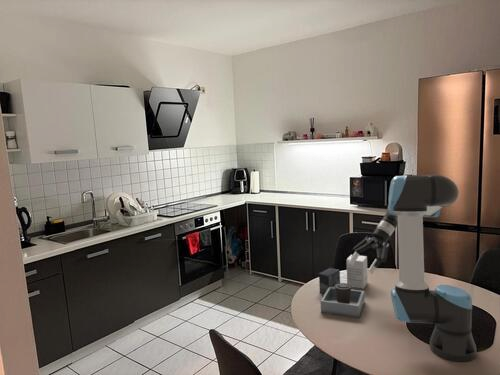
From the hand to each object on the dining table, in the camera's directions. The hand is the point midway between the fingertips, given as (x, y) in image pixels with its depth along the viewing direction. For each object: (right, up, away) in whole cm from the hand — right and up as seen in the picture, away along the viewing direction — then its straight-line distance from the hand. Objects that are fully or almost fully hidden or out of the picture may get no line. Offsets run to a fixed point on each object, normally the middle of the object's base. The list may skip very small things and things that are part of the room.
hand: (359, 268), depth 181 cm
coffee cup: (-8, -17, -2) cm, 19 cm away
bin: (-8, -18, -2) cm, 20 cm away
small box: (-11, -16, +17) cm, 26 cm away
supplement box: (+5, -14, +23) cm, 28 cm away
